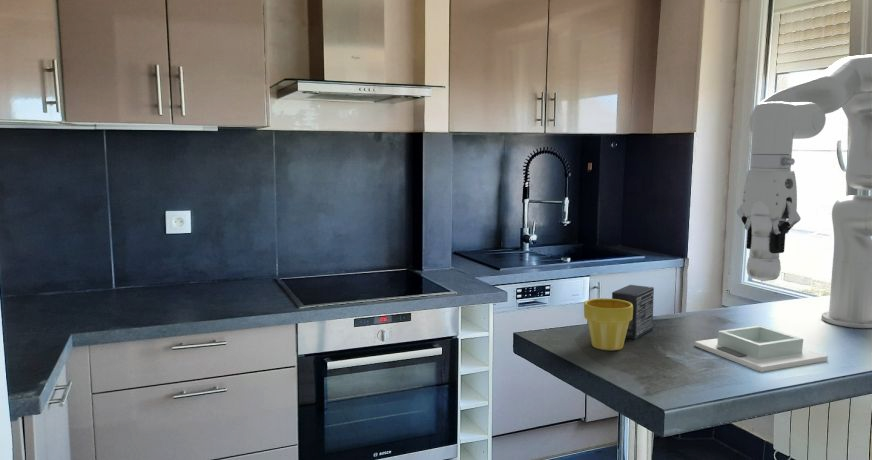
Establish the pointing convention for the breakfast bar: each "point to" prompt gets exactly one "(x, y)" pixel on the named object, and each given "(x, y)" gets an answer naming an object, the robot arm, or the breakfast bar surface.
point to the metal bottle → (762, 245)
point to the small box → (638, 308)
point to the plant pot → (608, 322)
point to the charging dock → (761, 348)
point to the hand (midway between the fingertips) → (764, 249)
